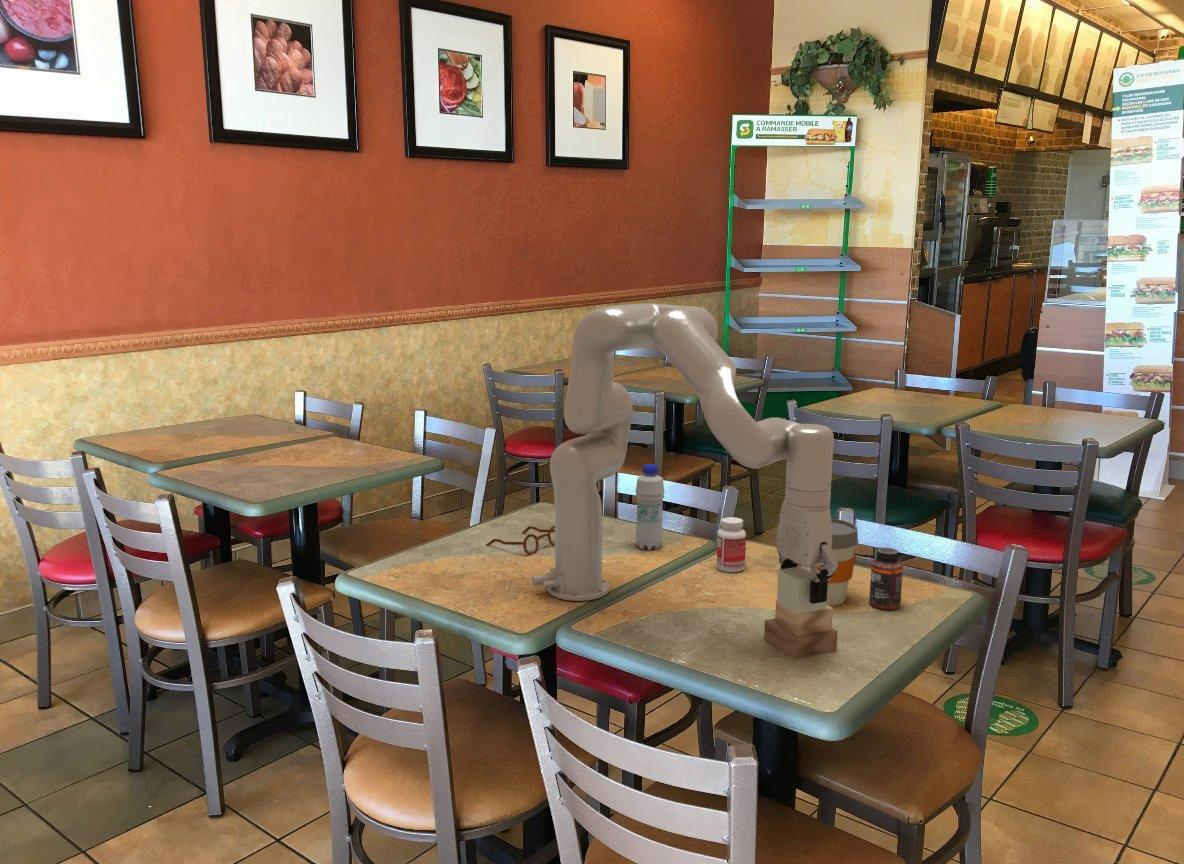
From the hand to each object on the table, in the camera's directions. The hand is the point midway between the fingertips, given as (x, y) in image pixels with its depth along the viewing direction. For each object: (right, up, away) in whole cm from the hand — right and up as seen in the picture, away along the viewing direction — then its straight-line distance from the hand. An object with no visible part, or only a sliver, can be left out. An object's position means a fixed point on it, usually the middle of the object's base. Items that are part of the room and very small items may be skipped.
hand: (802, 593), depth 164 cm
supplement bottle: (+21, -6, +21) cm, 31 cm away
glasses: (-53, +1, +58) cm, 78 cm away
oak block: (+1, -6, +2) cm, 6 cm away
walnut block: (0, -10, +3) cm, 10 cm away
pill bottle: (-6, -2, +42) cm, 42 cm away
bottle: (-23, +1, +56) cm, 61 cm away
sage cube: (0, -2, +1) cm, 2 cm away
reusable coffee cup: (+10, -5, +25) cm, 27 cm away
